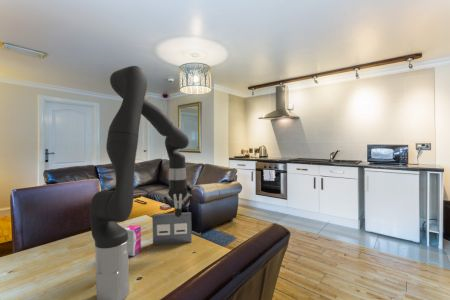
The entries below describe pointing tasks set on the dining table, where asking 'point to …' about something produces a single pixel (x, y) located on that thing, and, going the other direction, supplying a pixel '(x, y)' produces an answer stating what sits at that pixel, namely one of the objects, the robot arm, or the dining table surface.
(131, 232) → the supplement box
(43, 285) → the dining table surface
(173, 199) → the robot arm
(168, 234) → the label panel
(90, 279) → the dining table surface
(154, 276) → the dining table surface
